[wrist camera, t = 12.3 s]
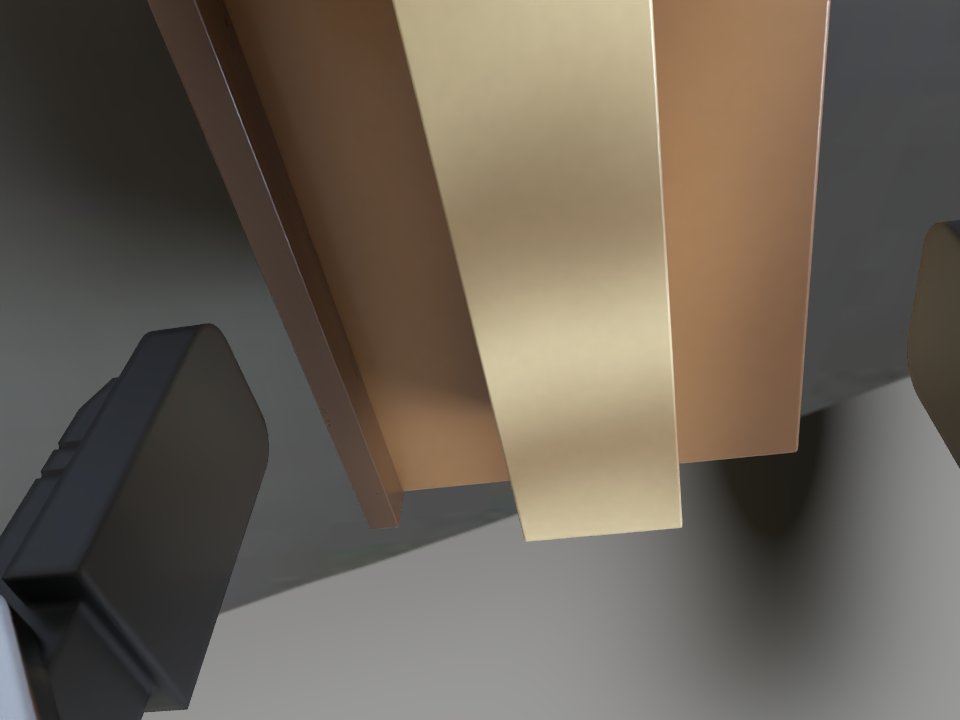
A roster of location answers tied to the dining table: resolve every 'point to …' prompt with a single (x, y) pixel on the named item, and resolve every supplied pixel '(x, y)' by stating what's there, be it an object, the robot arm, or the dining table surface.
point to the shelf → (426, 241)
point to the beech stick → (559, 245)
